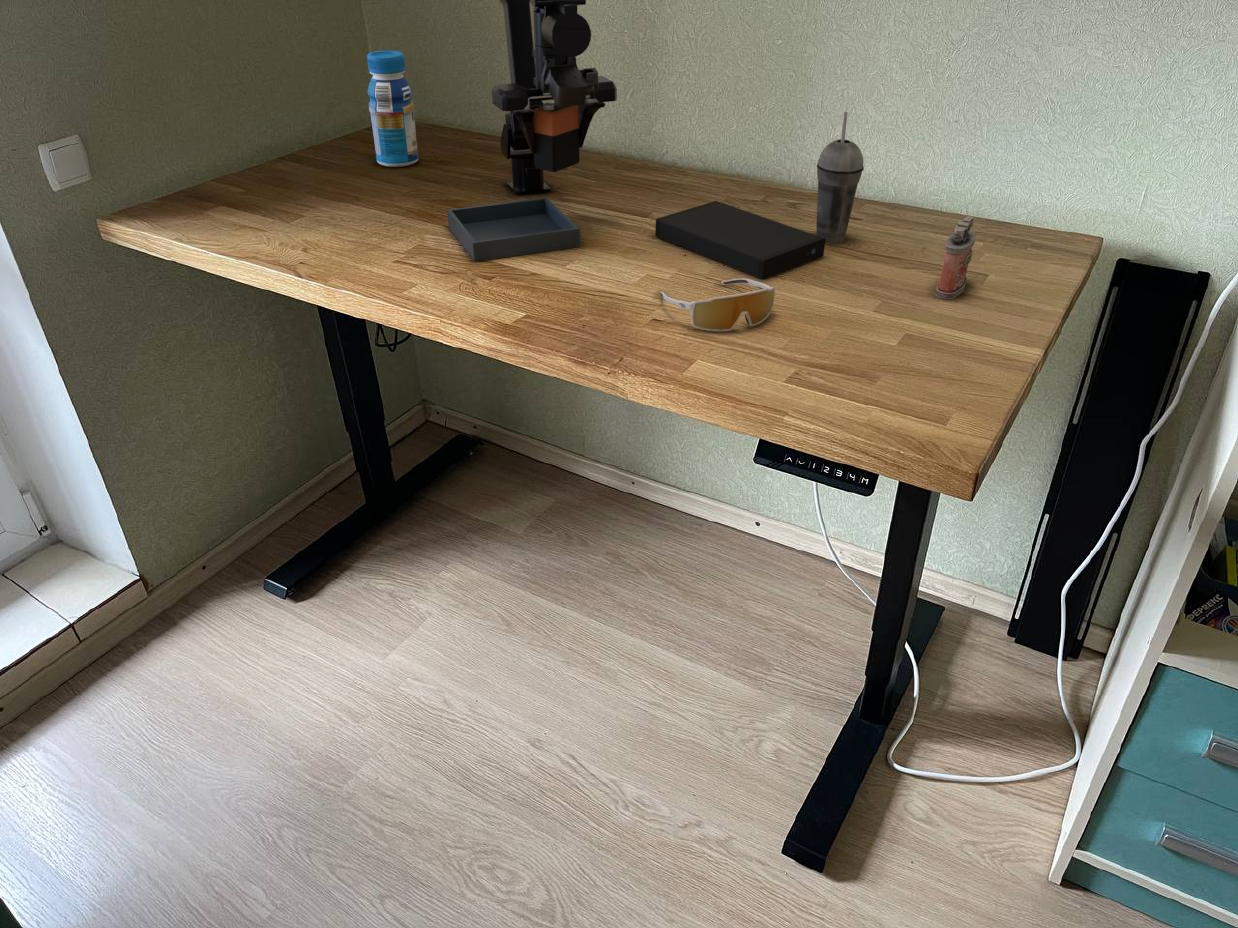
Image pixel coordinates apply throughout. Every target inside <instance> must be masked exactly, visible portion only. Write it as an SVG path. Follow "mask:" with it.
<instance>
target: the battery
mask: <svg viewBox="0 0 1238 928" xmlns="http://www.w3.org/2000/svg"><path fill="white" fill-rule="evenodd" d="M533 111H534V116H533V126H534V135H535V153H534V159H535V167H536V168H538V169H542V170H543V171H547V172H551V173H556V172H560V171H561V170H564V169H567V168H570V167H572V166H575V165H578V164H579V163H580V148H579V107H578V105H568V106H566V107H559V106H557V105H556V104H555V103H554V102H544V106H542V107H539V108H536V109H534V110H533Z"/></svg>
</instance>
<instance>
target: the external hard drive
mask: <svg viewBox="0 0 1238 928" xmlns="http://www.w3.org/2000/svg"><path fill="white" fill-rule="evenodd" d="M654 228H655V230H654V231H655V232H654V233H655V237H657V238H659V239H660V240H661V239H662V240H663V241H666V242H669V243H671V244H673V245H676V246H678V247H681V248H684V249H686V250H688V251H692V252H694V253H696V254H699V255H700V256H704V257H706V258H709V259H711V260H714V261H716V262H719V263H721V264H723V265H726V266H728V267H731V268H734V269H736V270H739V271H741V272H744V273H746V274H749V275H751V276H753V277H756V278H758V279H761V280H765V279H767V278H771V277H773V276H777V275H779V274H781V273H783V272H786V271H789V270H791V269H795V268H797V267H799V266H802V265H804V264H808V263H810V262H813V261H816V260H818V259H820V258H821V259H822V258H823V257H824V254H825V246H826V242H825V238H822V237H819V236H817V234H814V233H810V232H809V231H804V230H801V229H799V228H797V227H793V226H791V225H788V224H784V223H782V222H779V221H777V220H776V221H775V220H773V219H771V218H768V217H764V216H762V215H758V214H757V213H756V214H755V213H753V212H750V211H747V210H744V209H741V208H738V207H736V206H733V205H730V204H727V203H725V202H721V201H718V200H713V201H710V202H708V203H704V204H701V205H697V206H695V207H691V208H687V209H684V210H681V211H677V212H674V213H671V214H667V215H663V216H661V217H658V218H657V217H656V219H655V227H654Z"/></svg>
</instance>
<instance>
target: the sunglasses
mask: <svg viewBox="0 0 1238 928" xmlns="http://www.w3.org/2000/svg"><path fill="white" fill-rule="evenodd" d="M739 284H740V285H742V284H743V285H744V284H746V285H750V286H752V287H757V288H762V289H758V290H753V291H748V292H743V293H736V294H731V295H722V296H715V297H714V296H713V297H710V298H709V299H700V300H693V301H692V302H691V301H685V300H680V299H676V298H673V297H671V296H668V295H667V294H666V293H665V292H663V291H660V293H659V295H660V297H661V298H663V299H664V301H666V302H668V303H672V304H674V305H676V306H677V307H679V309H681V310H688V311H690V321H691V325H692V326H693V328H696V329H698V330H703V331H708V332H730V331H732V330H733V329H734V328H735V327H736V325H737V324H738V322H739V320H740V319H741V317H742V316H744V319H745V321H746V323H747V325H749V326H750V327H754V326H757V325H759V324H762V323H763V322H764V321H765V320H767V318H769V316H770V315H771V312H772V309H773V307H774V302H775V296H776V289H775V287H774V286H770V285H768V284H766V283H763V282H760V281H756V280H753V279H751V278H733V279H727V280H722V281H721V285H723V286H729V285H739Z"/></svg>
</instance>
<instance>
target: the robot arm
mask: <svg viewBox="0 0 1238 928" xmlns="http://www.w3.org/2000/svg"><path fill="white" fill-rule="evenodd" d="M499 2H500V3H501V4H502V7H503V15H504V27H505V37H506V47H507V57H508V67H509V68H508V69H509V76H510V77H509V78H510V83H502V84H501V83H500V84H495V85H494V87H493V88H492V91H491V101H492V105H494V106H495V107H497V108H498V109H499V110H500V111H502V112H505V113H504V120H505V122H504V123H503V126H502V130H501V135H500V140H499V141H500V149H501V154H502V155H503V156H504V157H505V158H506V160H511V177H512V181H507V182H506V185H507V187H508V188H510V190H512V192H513V193H514V194H515V195H525V194H534V193H541V192H549V191H550V192H551V186H549V185H548V184H547V183H546V182H545V177H544V176H545V175H544V170H542V169H538V168H536V167H535V159H534V153H535V135H534V126H533V116H534V111H533V110H534V109H536V108H539V107H542V106H544V104H545V102H543V101H552V100H553V103H555V104H556V105H557V106H559V107H566V106H568V105H578V107H579V149H582V148H583V146H584V143H585V141H586V137H587V134H588V131H589V128H590V125H591V123H592V120H593V117H594V116H595V114H596V113H597V112H598V111H599V110H600V109H601V108H605V107H606V103H611V102H616V101H617V100H618V88H617V85H616V83H615V82H614V81H613V80H611V79H609V78H607V77H605V76H603V75H599V71H598V69H597V68H596V67H587V68H586V67H585V68H583V69H579V68H578V65H577V57H579V56H580V55H582V54H583V53H584V52H585V51H587V49H588V47H589V46H590V44H591V42H592V41H591V40H592V30H591V27H590V24H589V22H588V20H587V19H585V17H584V16H583V15H581V14H579V13H578V6H585V5H587V0H499ZM531 6H532V7H533V12H532V13H531ZM532 14H533V25H532Z"/></svg>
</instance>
